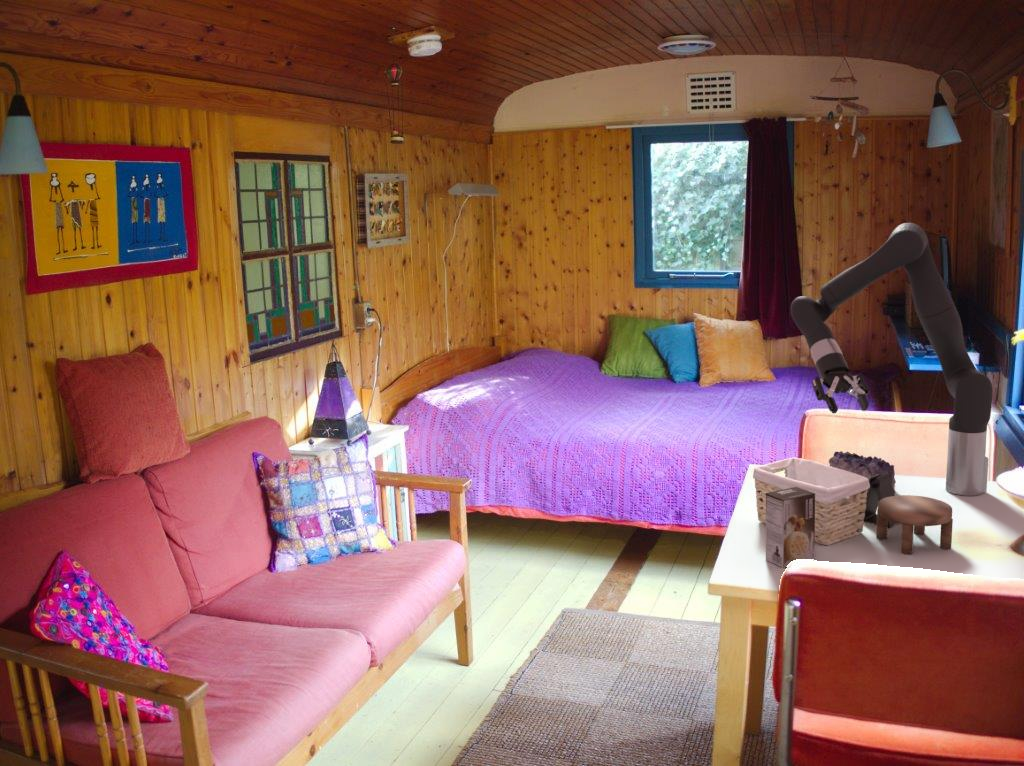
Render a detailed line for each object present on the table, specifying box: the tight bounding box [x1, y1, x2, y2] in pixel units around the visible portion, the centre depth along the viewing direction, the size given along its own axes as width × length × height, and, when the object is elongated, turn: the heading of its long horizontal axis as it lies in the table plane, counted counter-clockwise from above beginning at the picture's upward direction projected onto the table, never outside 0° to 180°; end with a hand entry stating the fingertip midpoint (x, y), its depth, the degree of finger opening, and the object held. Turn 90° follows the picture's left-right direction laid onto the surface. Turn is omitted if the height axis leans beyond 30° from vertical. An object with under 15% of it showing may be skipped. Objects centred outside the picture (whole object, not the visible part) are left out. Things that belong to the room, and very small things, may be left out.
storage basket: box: [752, 456, 870, 546], centre depth 240 cm, size 24×16×15 cm
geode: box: [828, 450, 896, 493], centre depth 273 cm, size 20×12×10 cm, turn 40°
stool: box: [875, 494, 954, 556], centre depth 229 cm, size 16×16×9 cm
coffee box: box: [765, 487, 816, 569], centre depth 221 cm, size 9×6×16 cm
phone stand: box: [864, 472, 899, 529], centre depth 244 cm, size 9×6×12 cm, turn 40°
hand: (850, 410), depth 254 cm, fingers open, 8 cm apart
